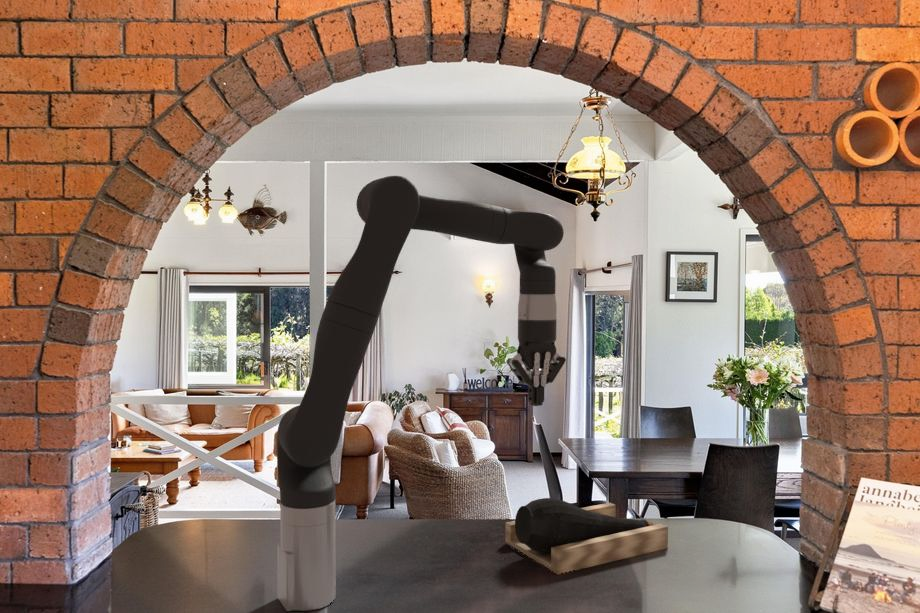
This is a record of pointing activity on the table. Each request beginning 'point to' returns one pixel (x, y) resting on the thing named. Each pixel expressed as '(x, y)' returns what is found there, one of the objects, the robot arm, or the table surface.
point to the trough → (595, 545)
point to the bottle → (565, 524)
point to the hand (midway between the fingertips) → (536, 405)
